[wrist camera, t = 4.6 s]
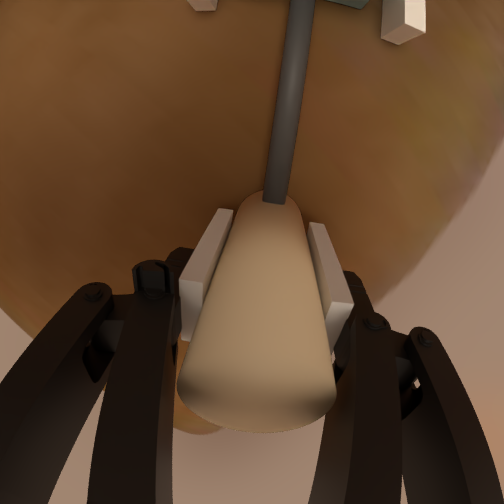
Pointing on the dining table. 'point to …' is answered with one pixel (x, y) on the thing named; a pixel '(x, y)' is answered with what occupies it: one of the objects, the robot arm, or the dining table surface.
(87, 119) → the dining table surface
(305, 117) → the dining table surface
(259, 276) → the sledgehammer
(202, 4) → the white u-shaped bracket
